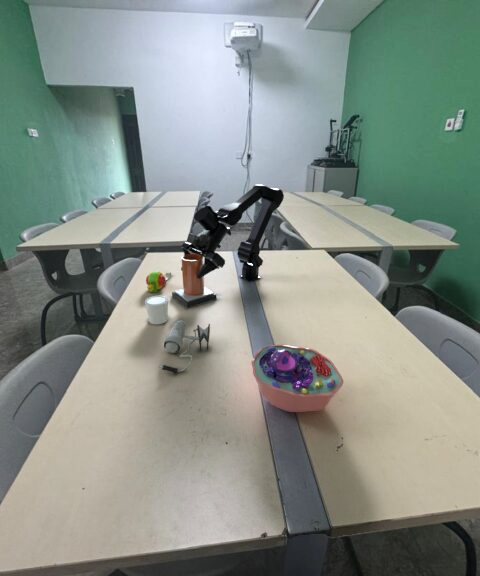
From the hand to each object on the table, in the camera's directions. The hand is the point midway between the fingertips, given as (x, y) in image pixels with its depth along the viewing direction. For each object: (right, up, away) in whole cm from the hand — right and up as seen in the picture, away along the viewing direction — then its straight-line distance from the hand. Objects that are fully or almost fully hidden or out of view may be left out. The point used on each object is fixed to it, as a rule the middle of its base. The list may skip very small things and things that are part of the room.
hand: (189, 274), depth 110 cm
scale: (+1, -8, +5) cm, 10 cm away
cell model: (+31, -30, -39) cm, 58 cm away
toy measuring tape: (-15, -3, +15) cm, 21 cm away
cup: (+1, -6, +4) cm, 7 cm away
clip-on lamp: (+4, -23, -26) cm, 34 cm away
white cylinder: (-8, -15, -10) cm, 20 cm away
